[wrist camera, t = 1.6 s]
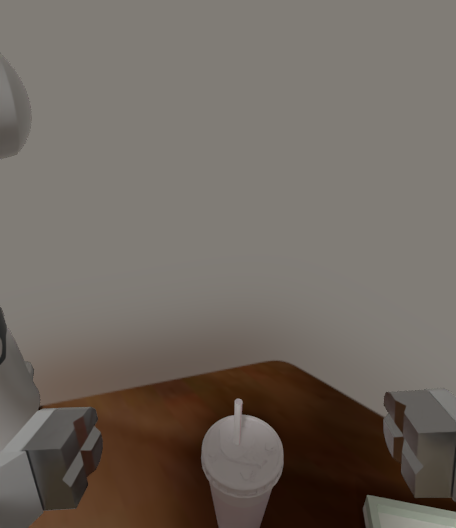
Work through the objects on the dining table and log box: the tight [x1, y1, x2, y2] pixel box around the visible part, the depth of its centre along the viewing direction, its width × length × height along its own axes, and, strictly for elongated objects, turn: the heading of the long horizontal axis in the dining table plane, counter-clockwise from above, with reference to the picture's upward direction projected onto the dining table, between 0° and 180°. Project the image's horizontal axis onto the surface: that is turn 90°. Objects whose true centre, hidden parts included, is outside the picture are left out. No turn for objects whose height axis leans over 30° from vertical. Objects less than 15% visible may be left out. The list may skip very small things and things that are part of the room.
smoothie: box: [201, 399, 284, 528], centre depth 27 cm, size 6×6×14 cm
